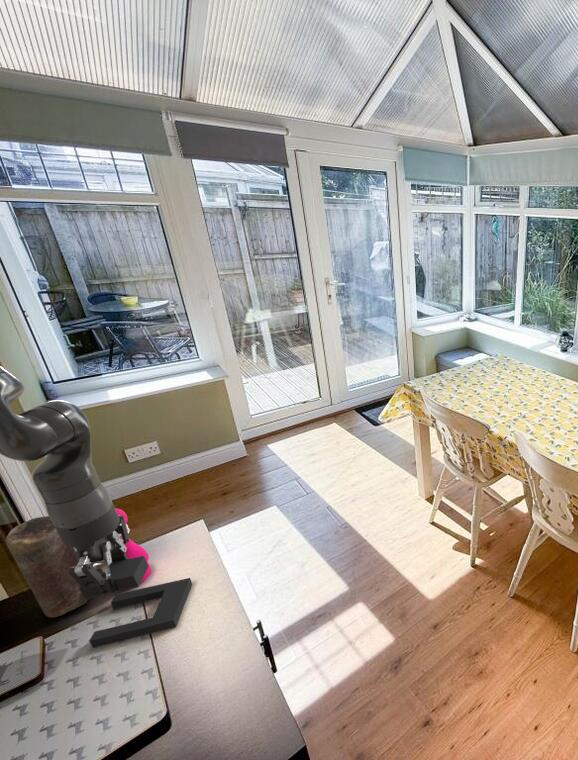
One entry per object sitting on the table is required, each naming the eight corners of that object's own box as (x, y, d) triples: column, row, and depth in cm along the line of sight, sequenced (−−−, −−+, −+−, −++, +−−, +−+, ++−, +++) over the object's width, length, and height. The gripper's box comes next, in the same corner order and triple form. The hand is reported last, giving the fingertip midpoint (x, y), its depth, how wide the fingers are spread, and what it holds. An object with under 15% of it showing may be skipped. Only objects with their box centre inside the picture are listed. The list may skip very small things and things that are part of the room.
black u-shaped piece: (92, 648, 77) (88, 641, 76) (118, 600, 86) (115, 594, 85) (176, 627, 81) (173, 620, 80) (192, 584, 90) (190, 577, 89)
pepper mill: (152, 559, 95) (122, 490, 87) (156, 578, 91) (125, 507, 83) (110, 577, 91) (74, 506, 83) (113, 598, 86) (75, 525, 78)
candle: (97, 581, 90) (60, 509, 82) (98, 604, 85) (58, 530, 77) (46, 602, 85) (1, 528, 77) (44, 627, 80) (-4, 551, 72)
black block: (85, 599, 75) (78, 587, 74) (98, 577, 80) (92, 566, 78) (138, 587, 78) (133, 575, 77) (149, 566, 82) (144, 555, 81)
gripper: (77, 489, 77) (110, 556, 83) (27, 546, 64) (71, 619, 71) (127, 481, 79) (155, 547, 86) (88, 535, 67) (125, 606, 74)
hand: (117, 579), depth 79 cm, fingers closed on black block, 5 cm apart
